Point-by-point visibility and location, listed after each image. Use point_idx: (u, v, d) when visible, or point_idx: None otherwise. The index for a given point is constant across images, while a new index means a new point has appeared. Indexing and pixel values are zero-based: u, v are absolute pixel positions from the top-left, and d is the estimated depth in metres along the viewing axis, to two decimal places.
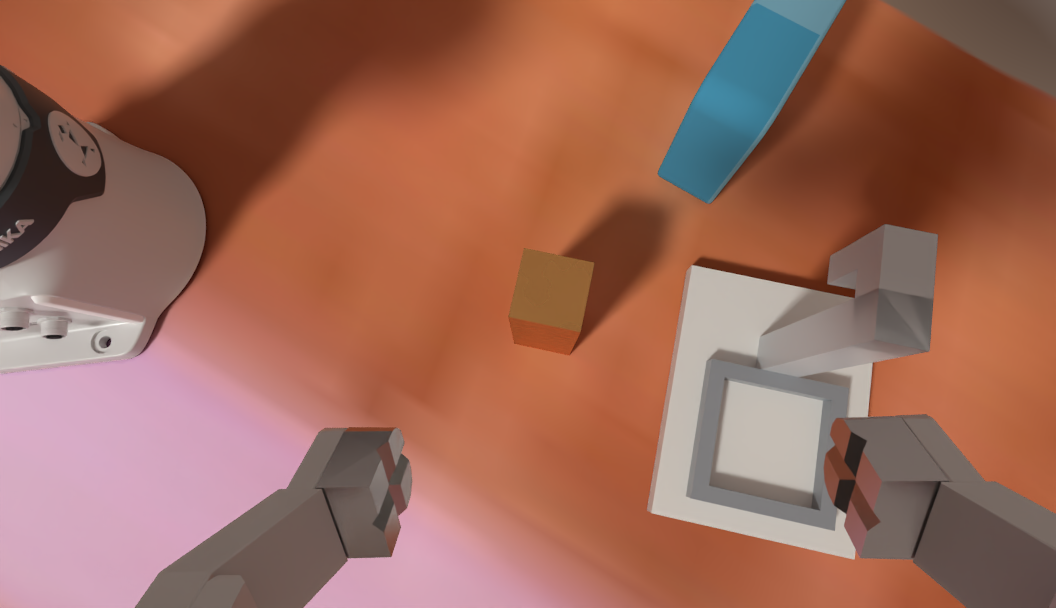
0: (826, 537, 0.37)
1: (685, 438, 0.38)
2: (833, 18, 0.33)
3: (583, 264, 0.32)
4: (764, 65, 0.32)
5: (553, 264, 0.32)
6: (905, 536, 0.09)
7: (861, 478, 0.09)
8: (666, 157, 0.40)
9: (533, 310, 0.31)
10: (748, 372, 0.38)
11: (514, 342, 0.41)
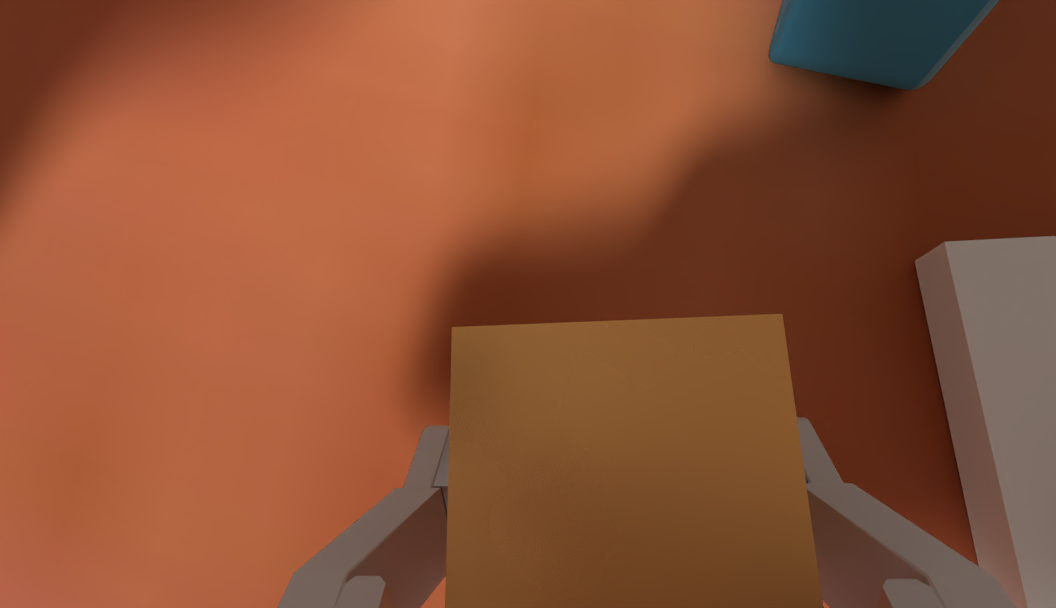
0: None
1: None
2: None
3: (734, 335, 0.07)
4: None
5: (595, 370, 0.07)
6: None
7: None
8: None
9: None
10: None
11: None
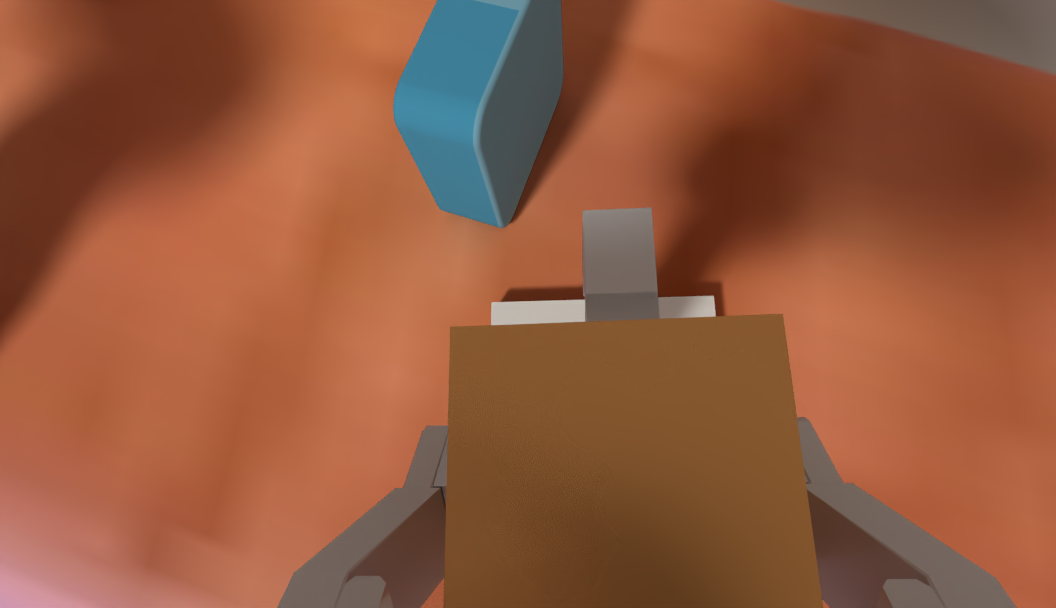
0: None
1: None
2: None
3: (734, 335, 0.07)
4: (459, 59, 0.27)
5: (595, 370, 0.07)
6: None
7: None
8: (429, 188, 0.34)
9: None
10: None
11: None
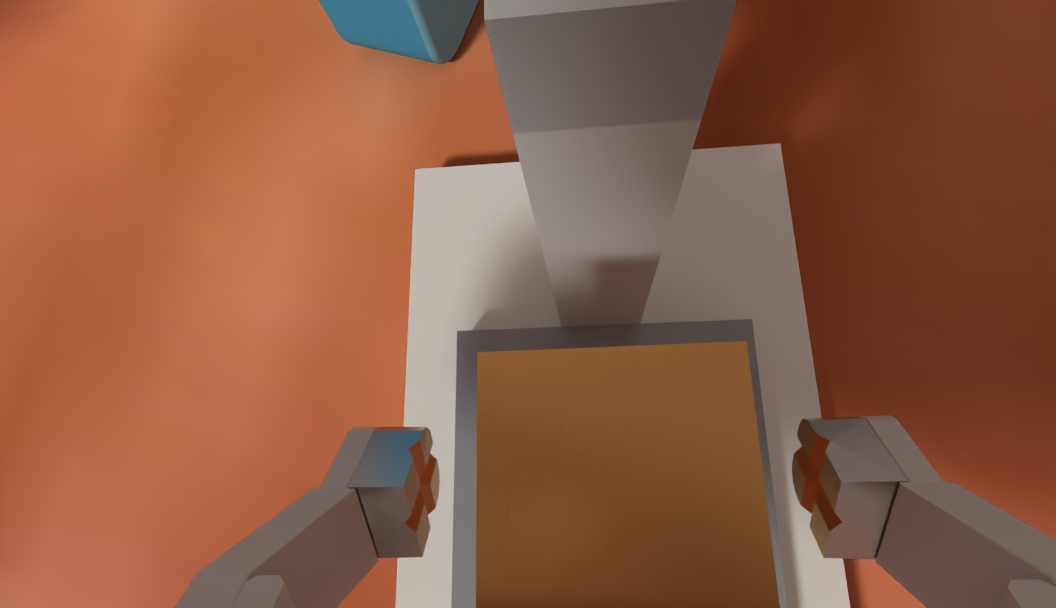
0: None
1: (443, 509, 0.18)
2: None
3: (708, 358, 0.08)
4: None
5: (595, 387, 0.08)
6: (867, 536, 0.09)
7: (824, 479, 0.09)
8: None
9: (567, 593, 0.08)
10: (535, 339, 0.18)
11: None
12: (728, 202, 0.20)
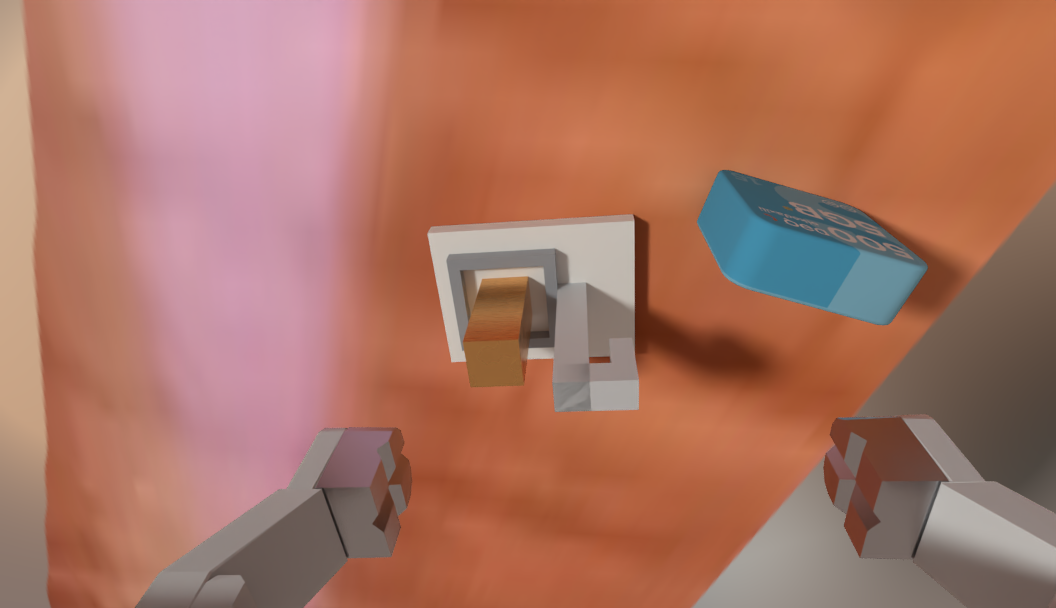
0: (458, 345, 0.53)
1: (490, 245, 0.48)
2: (846, 315, 0.37)
3: (519, 379, 0.42)
4: (791, 270, 0.36)
5: (512, 360, 0.41)
6: (905, 536, 0.09)
7: (862, 478, 0.09)
8: (727, 182, 0.42)
9: (473, 356, 0.41)
10: (552, 281, 0.48)
11: (481, 282, 0.49)
12: (611, 337, 0.52)
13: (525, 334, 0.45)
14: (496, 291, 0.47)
